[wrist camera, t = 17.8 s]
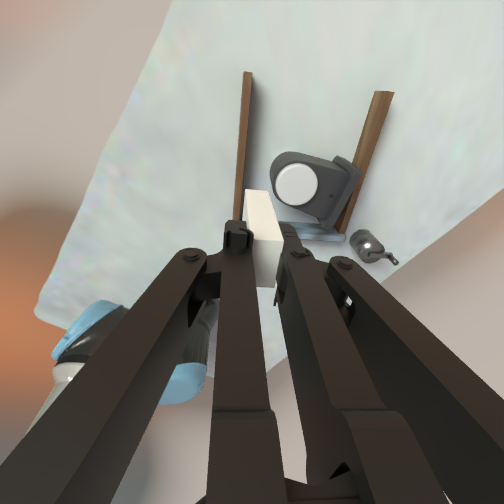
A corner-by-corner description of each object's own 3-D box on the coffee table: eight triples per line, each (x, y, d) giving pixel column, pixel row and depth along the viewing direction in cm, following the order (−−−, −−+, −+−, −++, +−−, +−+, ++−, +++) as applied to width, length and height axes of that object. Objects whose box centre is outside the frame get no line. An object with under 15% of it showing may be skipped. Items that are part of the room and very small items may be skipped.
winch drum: (346, 247, 59) (363, 271, 51) (353, 228, 56) (372, 251, 48) (372, 249, 59) (393, 273, 52) (380, 230, 57) (404, 253, 49)
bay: (232, 222, 53) (232, 234, 49) (243, 72, 39) (244, 71, 35) (336, 230, 56) (344, 241, 52) (381, 91, 42) (397, 92, 38)
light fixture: (280, 134, 45) (288, 144, 36) (345, 158, 47) (368, 173, 38) (260, 190, 50) (263, 211, 41) (319, 209, 53) (334, 233, 44)
